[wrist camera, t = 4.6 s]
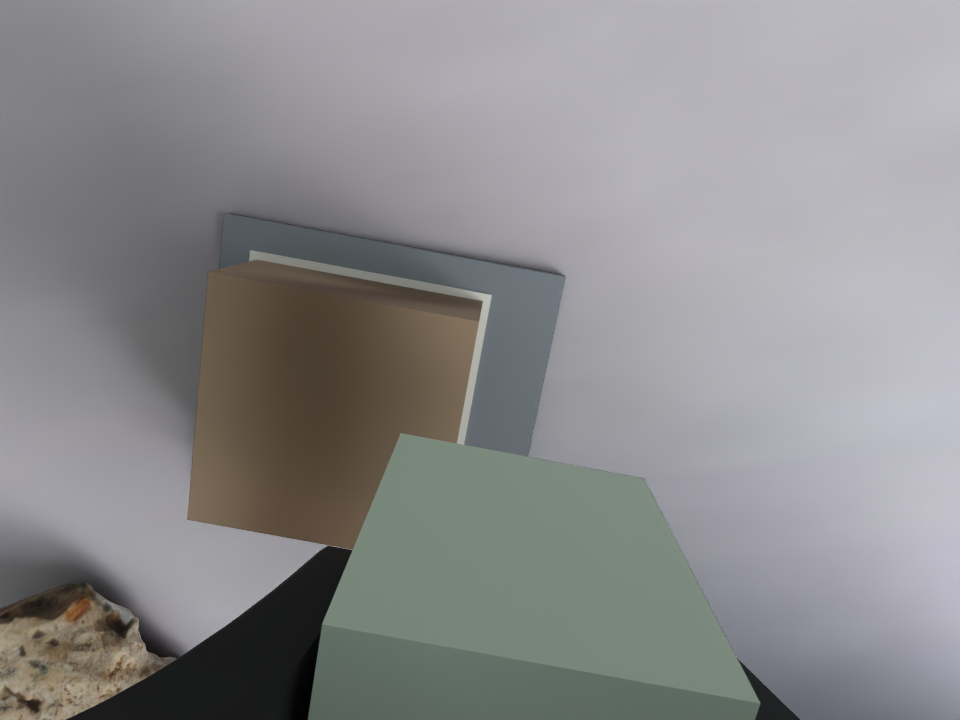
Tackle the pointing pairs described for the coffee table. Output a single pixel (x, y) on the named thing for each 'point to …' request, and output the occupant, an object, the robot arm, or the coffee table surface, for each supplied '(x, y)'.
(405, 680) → the sage block
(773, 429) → the coffee table surface
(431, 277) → the mat
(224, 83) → the coffee table surface
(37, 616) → the rock
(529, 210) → the coffee table surface
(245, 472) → the walnut block
